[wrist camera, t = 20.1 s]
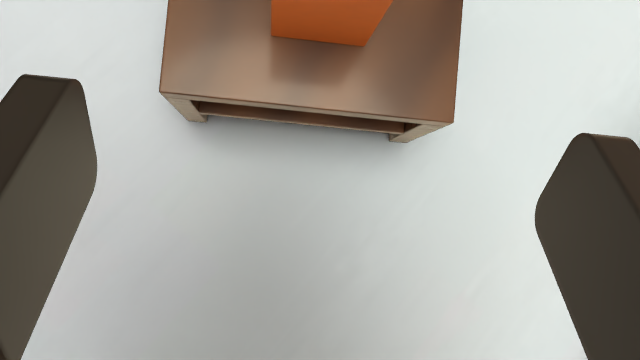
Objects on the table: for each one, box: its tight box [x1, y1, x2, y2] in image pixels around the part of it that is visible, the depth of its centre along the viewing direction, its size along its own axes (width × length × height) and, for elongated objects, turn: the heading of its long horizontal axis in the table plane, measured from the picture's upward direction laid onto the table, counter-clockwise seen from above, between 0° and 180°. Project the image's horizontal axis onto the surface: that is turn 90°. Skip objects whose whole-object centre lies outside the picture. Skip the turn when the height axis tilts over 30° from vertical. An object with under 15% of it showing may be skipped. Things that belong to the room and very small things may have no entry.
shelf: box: [159, 0, 463, 143], centre depth 30 cm, size 14×11×9 cm
